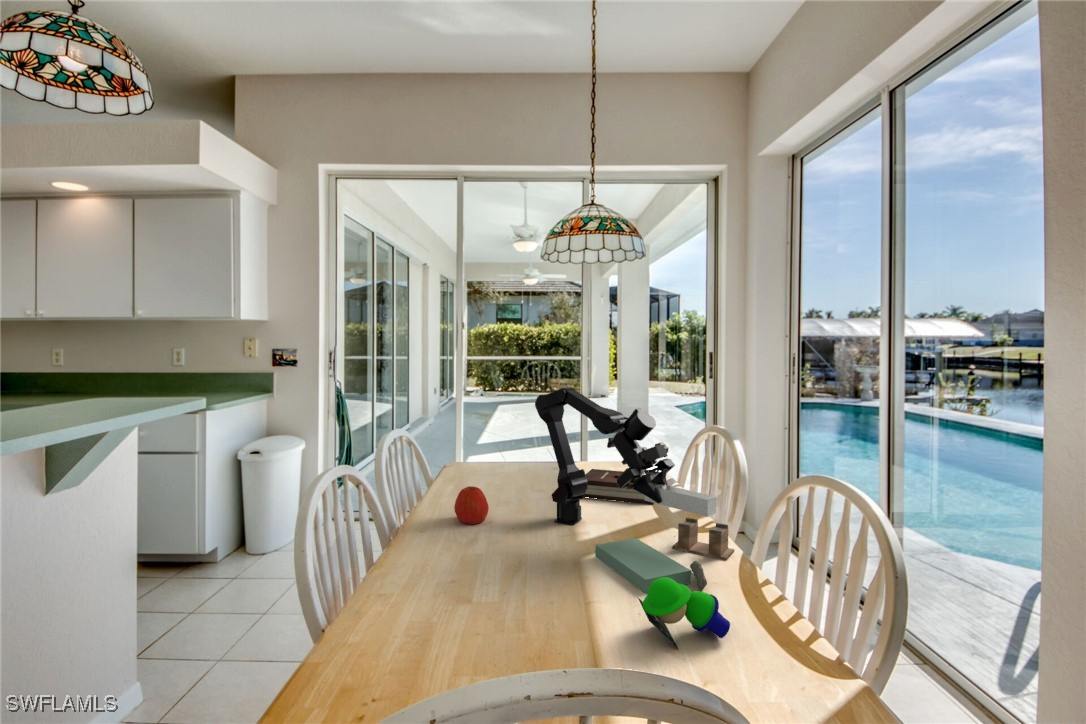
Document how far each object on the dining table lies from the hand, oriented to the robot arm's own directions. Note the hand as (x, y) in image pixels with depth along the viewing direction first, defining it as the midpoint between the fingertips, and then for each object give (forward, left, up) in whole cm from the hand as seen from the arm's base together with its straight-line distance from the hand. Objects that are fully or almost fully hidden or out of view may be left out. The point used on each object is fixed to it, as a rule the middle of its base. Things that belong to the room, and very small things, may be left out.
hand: (665, 500), depth 140 cm
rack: (+8, +6, -13) cm, 17 cm away
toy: (+13, -38, -14) cm, 42 cm away
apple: (-58, -1, -14) cm, 60 cm away
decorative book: (-27, +46, -14) cm, 55 cm away
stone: (+11, -13, -14) cm, 22 cm away
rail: (+4, -1, -1) cm, 4 cm away
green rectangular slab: (-3, -13, -13) cm, 19 cm away
